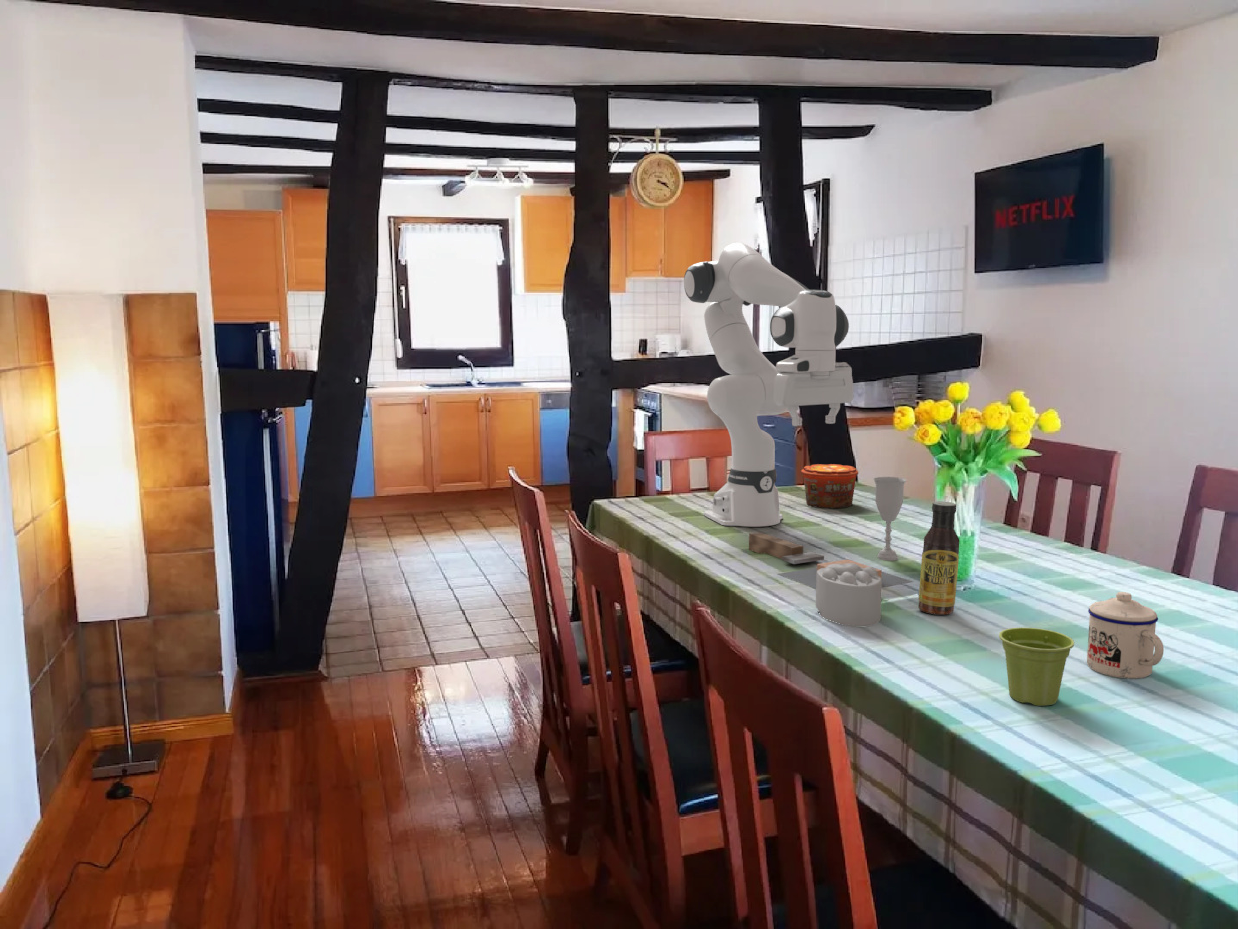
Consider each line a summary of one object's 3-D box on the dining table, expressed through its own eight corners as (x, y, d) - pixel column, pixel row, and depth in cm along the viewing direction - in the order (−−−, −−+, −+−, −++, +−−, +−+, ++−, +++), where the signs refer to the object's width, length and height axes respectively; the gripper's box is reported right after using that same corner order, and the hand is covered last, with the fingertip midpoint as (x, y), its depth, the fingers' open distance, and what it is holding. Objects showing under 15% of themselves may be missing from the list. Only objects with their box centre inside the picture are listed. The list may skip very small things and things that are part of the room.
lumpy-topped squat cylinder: (864, 603, 173) (865, 558, 171) (892, 625, 160) (893, 576, 159) (810, 606, 172) (811, 560, 170) (833, 628, 159) (834, 579, 157)
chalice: (905, 565, 199) (908, 482, 197) (872, 564, 201) (874, 481, 198) (901, 557, 206) (904, 477, 204) (870, 555, 208) (872, 476, 205)
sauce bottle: (918, 615, 165) (922, 505, 162) (917, 605, 171) (921, 499, 168) (957, 617, 163) (962, 507, 160) (955, 607, 169) (959, 500, 166)
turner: (739, 551, 214) (740, 534, 213) (768, 547, 217) (768, 531, 217) (793, 571, 196) (794, 553, 195) (823, 566, 200) (824, 548, 199)
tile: (816, 564, 189) (850, 575, 180) (847, 559, 192) (881, 570, 184) (816, 576, 189) (849, 588, 180) (847, 571, 193) (881, 582, 184)
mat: (776, 576, 191) (776, 573, 191) (852, 564, 200) (852, 561, 200) (834, 598, 175) (834, 595, 175) (913, 584, 184) (913, 581, 184)
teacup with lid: (1071, 661, 142) (1075, 587, 140) (1121, 655, 144) (1126, 582, 142) (1131, 690, 130) (1137, 610, 129) (1185, 684, 132) (1191, 605, 131)
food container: (789, 502, 271) (790, 466, 269) (832, 497, 278) (833, 462, 277) (825, 512, 257) (825, 473, 255) (869, 506, 264) (870, 469, 263)
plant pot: (982, 688, 132) (984, 629, 130) (1039, 682, 134) (1043, 624, 133) (1024, 715, 123) (1028, 652, 121) (1086, 707, 125) (1090, 646, 123)
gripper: (842, 361, 215) (840, 420, 217) (769, 363, 206) (769, 425, 208) (860, 362, 209) (859, 423, 212) (787, 364, 200) (786, 428, 202)
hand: (813, 424), depth 210 cm, fingers open, 8 cm apart
